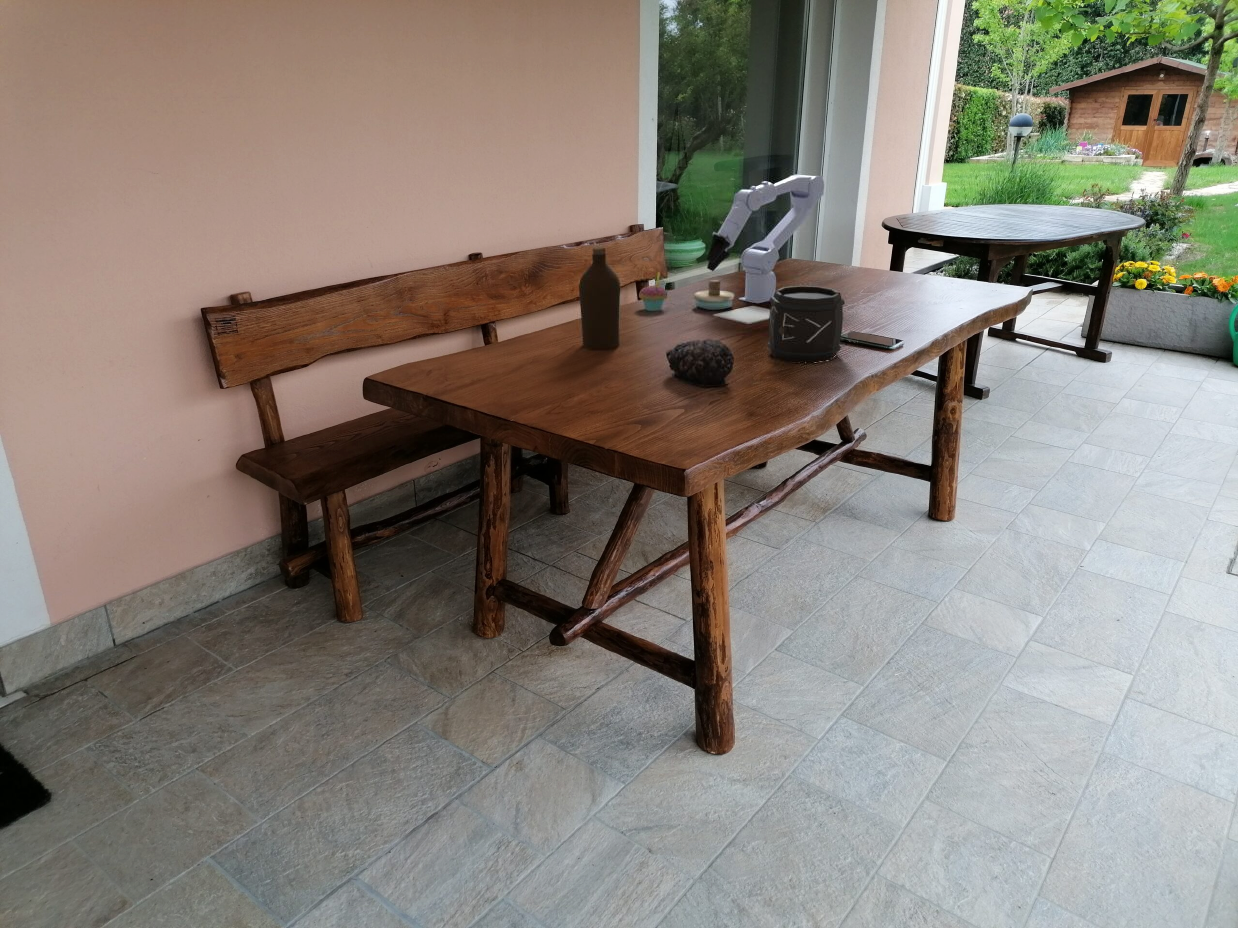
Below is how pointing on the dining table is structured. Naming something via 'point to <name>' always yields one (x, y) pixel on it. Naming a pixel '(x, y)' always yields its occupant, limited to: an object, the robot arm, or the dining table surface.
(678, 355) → the pine cone
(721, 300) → the lid
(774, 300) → the dark grey barrel
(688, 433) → the dining table surface
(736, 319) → the mat
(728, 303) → the light blue flat disc
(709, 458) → the dining table surface
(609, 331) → the olive oil
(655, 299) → the cupcake
